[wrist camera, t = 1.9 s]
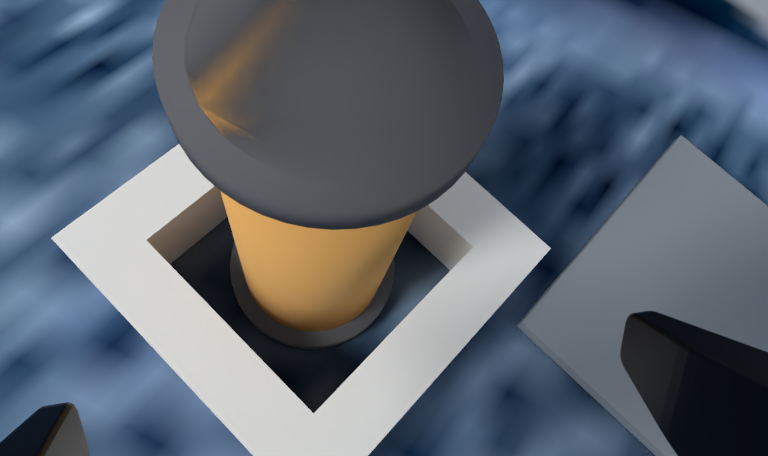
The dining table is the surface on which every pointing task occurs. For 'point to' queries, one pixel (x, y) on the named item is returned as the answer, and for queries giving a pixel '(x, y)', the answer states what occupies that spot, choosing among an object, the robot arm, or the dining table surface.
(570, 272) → the grey mat
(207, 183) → the holder sleeve
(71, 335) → the dining table surface
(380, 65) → the cable reel
